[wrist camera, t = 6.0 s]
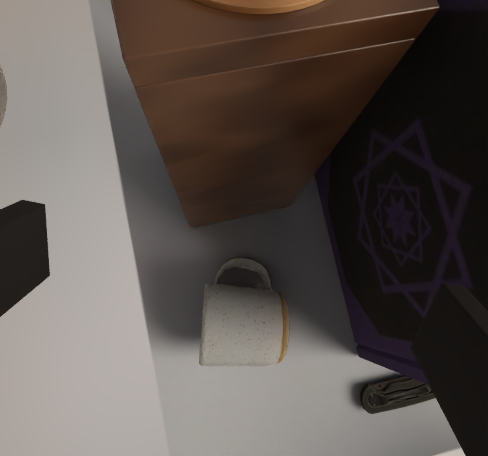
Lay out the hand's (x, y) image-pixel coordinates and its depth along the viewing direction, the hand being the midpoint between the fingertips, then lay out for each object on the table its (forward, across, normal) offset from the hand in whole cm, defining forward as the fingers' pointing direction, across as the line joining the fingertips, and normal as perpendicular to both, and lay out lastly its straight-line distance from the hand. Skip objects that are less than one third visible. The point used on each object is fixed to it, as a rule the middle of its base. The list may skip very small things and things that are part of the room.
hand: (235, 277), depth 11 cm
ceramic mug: (+21, +1, -17) cm, 27 cm away
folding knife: (+17, +20, -22) cm, 35 cm away
